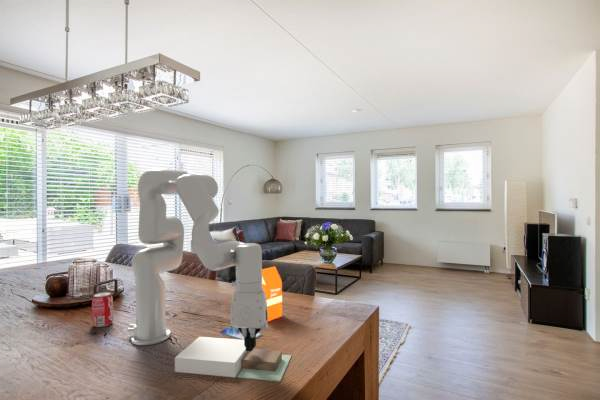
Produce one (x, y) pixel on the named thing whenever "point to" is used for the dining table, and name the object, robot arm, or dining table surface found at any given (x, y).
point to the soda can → (102, 309)
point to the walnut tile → (261, 359)
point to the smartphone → (235, 333)
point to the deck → (212, 357)
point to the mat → (266, 372)
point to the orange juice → (272, 292)
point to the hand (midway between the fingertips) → (250, 349)
